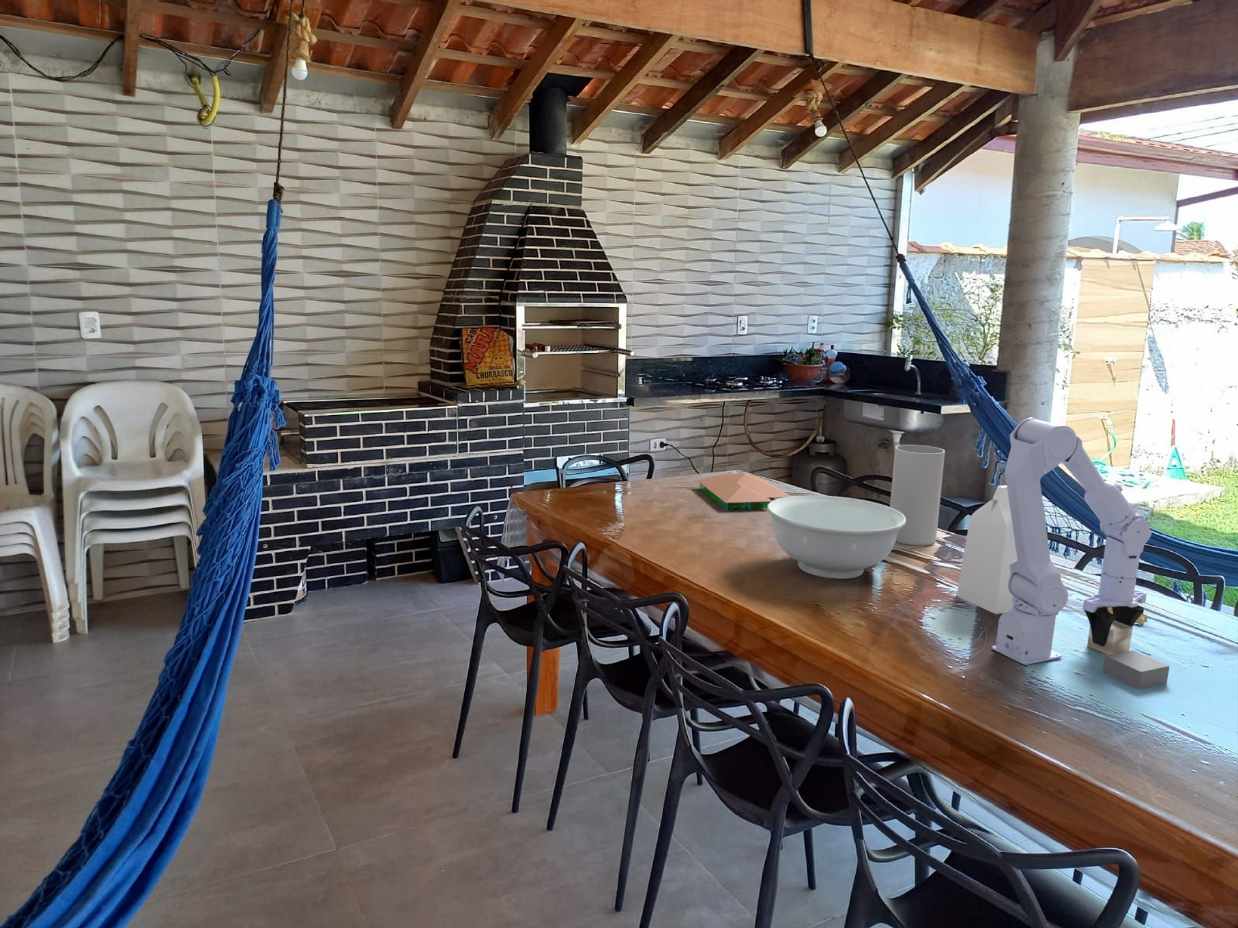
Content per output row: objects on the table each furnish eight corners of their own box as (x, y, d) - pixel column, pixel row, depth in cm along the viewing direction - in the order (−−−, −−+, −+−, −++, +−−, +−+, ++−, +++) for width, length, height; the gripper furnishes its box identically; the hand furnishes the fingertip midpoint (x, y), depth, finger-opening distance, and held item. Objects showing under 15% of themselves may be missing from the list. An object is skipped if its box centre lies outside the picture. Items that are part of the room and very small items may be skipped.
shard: (1103, 605, 191) (1104, 597, 190) (1144, 611, 187) (1145, 603, 187) (1106, 621, 181) (1107, 613, 181) (1148, 628, 178) (1150, 620, 177)
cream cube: (1110, 656, 163) (1114, 631, 162) (1087, 645, 167) (1090, 621, 166) (1128, 652, 165) (1132, 627, 163) (1105, 642, 169) (1108, 618, 168)
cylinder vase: (888, 544, 231) (896, 451, 226) (886, 531, 243) (893, 443, 238) (938, 548, 228) (947, 455, 223) (933, 535, 240) (942, 446, 235)
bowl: (917, 564, 214) (922, 507, 211) (876, 602, 188) (882, 537, 185) (794, 541, 232) (797, 487, 229) (741, 573, 205) (744, 513, 202)
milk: (998, 589, 197) (1011, 478, 192) (1038, 607, 187) (1054, 490, 182) (956, 595, 193) (968, 481, 188) (995, 614, 183) (1009, 494, 177)
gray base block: (1138, 690, 149) (1141, 671, 149) (1102, 673, 156) (1105, 655, 155) (1166, 684, 152) (1169, 665, 151) (1130, 668, 158) (1133, 650, 158)
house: (759, 486, 296) (760, 462, 295) (797, 510, 265) (798, 484, 263) (694, 487, 292) (695, 464, 290) (725, 513, 260) (726, 486, 259)
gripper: (1111, 585, 156) (1100, 655, 159) (1165, 576, 162) (1154, 644, 165) (1077, 573, 163) (1067, 641, 165) (1130, 565, 168) (1120, 630, 171)
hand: (1108, 642), depth 165 cm, fingers closed on cream cube, 5 cm apart
